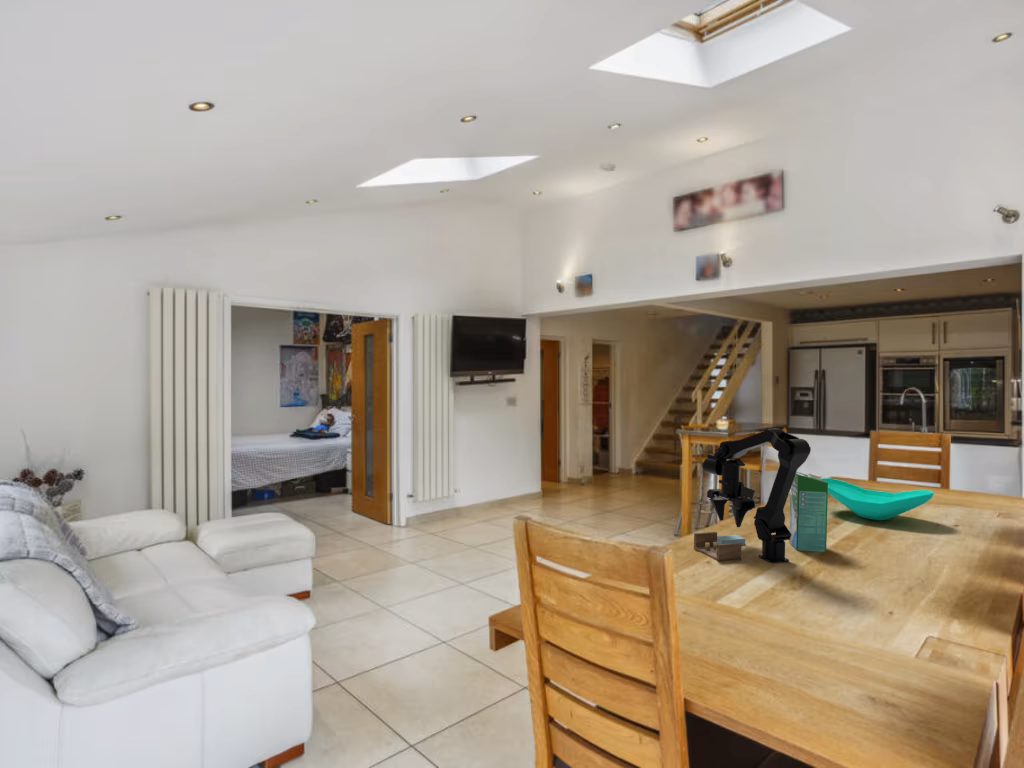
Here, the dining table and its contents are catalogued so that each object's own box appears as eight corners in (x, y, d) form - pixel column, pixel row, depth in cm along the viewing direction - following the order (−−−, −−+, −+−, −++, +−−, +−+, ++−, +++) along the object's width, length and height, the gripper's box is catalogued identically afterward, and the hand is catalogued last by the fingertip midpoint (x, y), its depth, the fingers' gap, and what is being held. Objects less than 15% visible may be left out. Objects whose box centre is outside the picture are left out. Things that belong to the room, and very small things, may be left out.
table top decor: (937, 520, 231) (938, 487, 231) (927, 534, 210) (928, 498, 210) (827, 504, 258) (828, 474, 257) (809, 515, 237) (810, 483, 237)
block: (735, 541, 201) (735, 534, 201) (745, 545, 196) (745, 538, 196) (713, 543, 198) (713, 536, 198) (722, 547, 194) (722, 540, 194)
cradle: (741, 559, 180) (741, 543, 180) (718, 561, 178) (719, 545, 178) (715, 546, 193) (715, 531, 193) (693, 548, 191) (694, 533, 191)
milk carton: (826, 552, 188) (828, 475, 188) (796, 550, 190) (798, 474, 190) (817, 544, 197) (819, 471, 197) (789, 542, 199) (790, 469, 198)
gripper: (769, 482, 190) (768, 529, 190) (733, 472, 208) (732, 515, 208) (740, 483, 187) (739, 531, 187) (706, 473, 205) (705, 517, 205)
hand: (729, 523), depth 197 cm, fingers open, 9 cm apart
